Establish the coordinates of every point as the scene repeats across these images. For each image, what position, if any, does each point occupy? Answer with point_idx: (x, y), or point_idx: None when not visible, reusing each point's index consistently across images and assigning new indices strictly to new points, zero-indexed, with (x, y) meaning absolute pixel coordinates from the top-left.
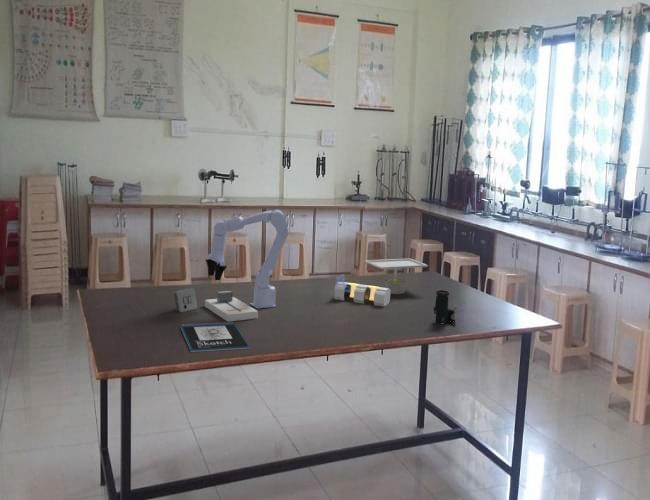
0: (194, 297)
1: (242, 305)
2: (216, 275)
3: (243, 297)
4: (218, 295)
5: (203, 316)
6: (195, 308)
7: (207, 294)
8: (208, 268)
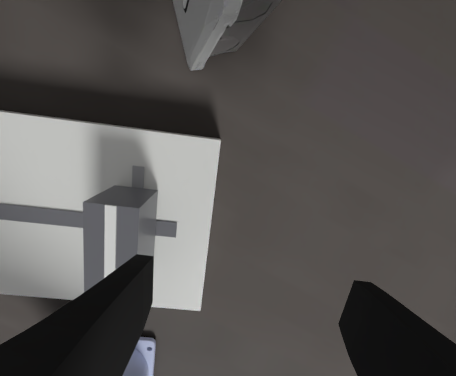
0: (197, 31)
1: (18, 268)
2: (91, 301)
3: (272, 364)
4: (119, 198)
5: (33, 24)
6: (185, 54)
7: (408, 259)
8: (447, 362)
